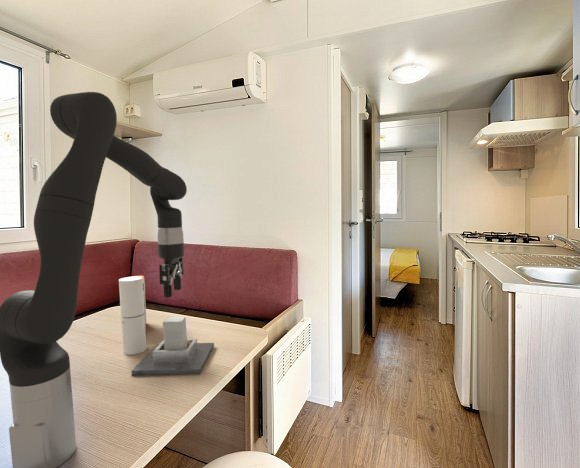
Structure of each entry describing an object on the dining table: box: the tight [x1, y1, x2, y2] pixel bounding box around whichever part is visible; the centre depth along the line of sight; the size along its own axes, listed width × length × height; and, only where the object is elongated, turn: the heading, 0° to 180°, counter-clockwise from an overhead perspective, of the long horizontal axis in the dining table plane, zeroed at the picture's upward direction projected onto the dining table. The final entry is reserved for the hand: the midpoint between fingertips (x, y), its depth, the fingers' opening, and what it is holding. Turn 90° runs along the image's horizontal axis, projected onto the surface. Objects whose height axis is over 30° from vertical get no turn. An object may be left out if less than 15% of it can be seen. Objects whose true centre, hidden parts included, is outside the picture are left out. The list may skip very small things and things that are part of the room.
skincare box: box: [162, 316, 188, 350], centre depth 101 cm, size 6×4×12 cm
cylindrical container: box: [118, 275, 147, 356], centre depth 108 cm, size 7×7×25 cm
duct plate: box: [131, 338, 215, 377], centre depth 102 cm, size 18×20×5 cm
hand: (173, 293), depth 100 cm, fingers open, 8 cm apart
